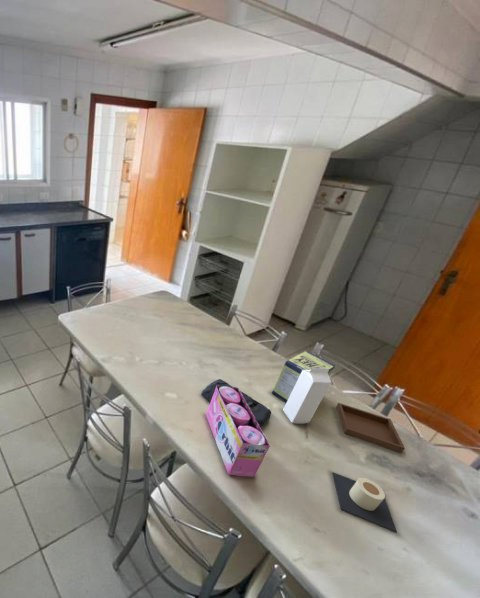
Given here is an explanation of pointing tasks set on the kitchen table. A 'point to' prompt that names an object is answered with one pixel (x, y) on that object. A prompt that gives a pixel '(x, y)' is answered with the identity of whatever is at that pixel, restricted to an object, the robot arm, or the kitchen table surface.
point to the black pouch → (259, 411)
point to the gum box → (236, 432)
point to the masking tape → (366, 494)
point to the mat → (376, 516)
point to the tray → (369, 427)
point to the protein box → (297, 372)
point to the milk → (307, 395)
